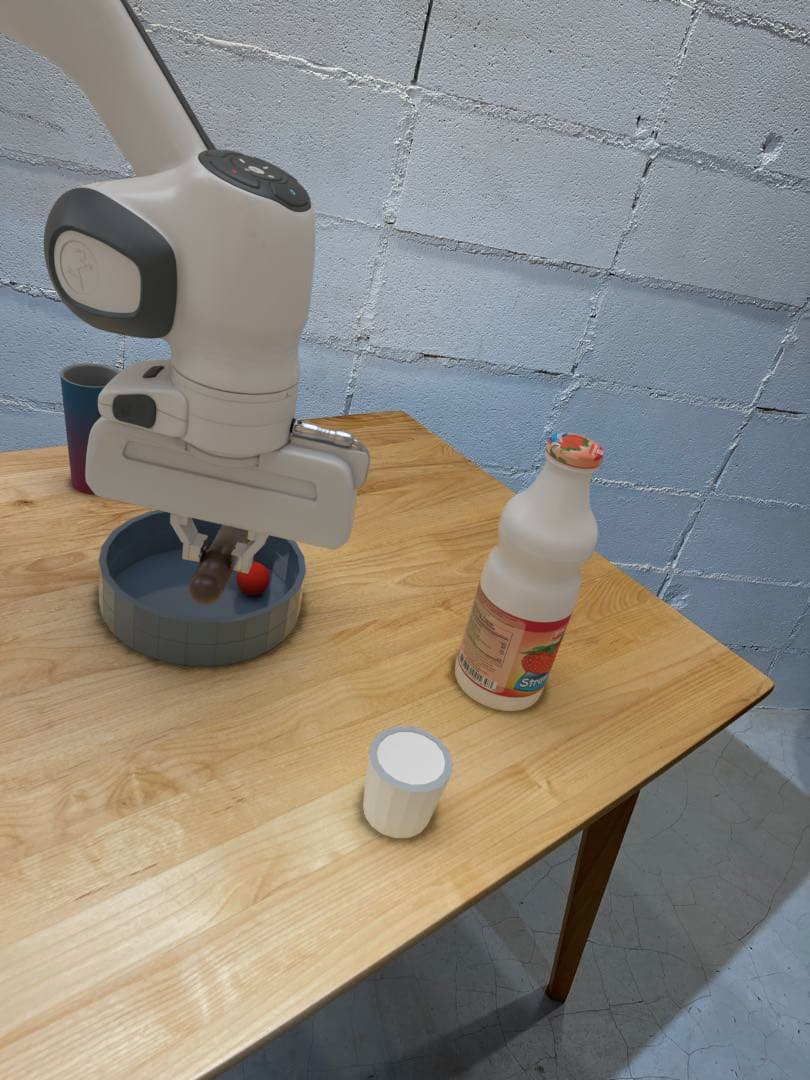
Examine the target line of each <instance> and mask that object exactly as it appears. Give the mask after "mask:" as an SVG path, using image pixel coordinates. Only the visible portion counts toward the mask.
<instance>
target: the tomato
mask: <svg viewBox="0 0 810 1080" xmlns="http://www.w3.org/2000/svg"><path fill="white" fill-rule="evenodd" d="M269 582H270V575H269V572H268V570H267V569H266V567H265V566H264V565H262V564H260V563H257V562H252V566H251V568H250V570H249V572H248V574H247V573H242V572H237V575H236V583H237V586H238V587H239V589H240V590H241V591H242V592H243V593H245V594H248V595H258V594H261V593H262V592H264V591H265V590H266V589H267V587H268V585H269Z"/></svg>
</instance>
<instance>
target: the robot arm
mask: <svg viewBox="0 0 810 1080" xmlns="http://www.w3.org/2000/svg"><path fill="white" fill-rule="evenodd" d="M0 34H2V35H4V36H6V37H7V38H9V39H12V40H14V41H16V42H18V43H20V44H21V45H23V46H25V47H27V48H29V49H31V50H32V51H34V52H36V53H37V54H39V55H40V56H42V57H44V58H45V59H47V60H48V61H49V62H51V63H52V64H54V65H55V66H57V68H59V69H60V70H61V71H62V72H64V73H65V75H67V76H68V77H69V78H70V79H71V80H72V81H73V82H74V83H75V84H76V85H77V87H79V89H80V90H81V91H82V92H83V93H84V95H85V96H86V98H87V99H88V101H89V102H90V104H91V106H92V107H93V109H94V110H95V112H96V113H97V115H98V117H99V119H100V120H101V121H102V123H103V124H104V127H106V129H107V131H108V132H109V134H110V136H111V137H112V138H113V141H114V142H115V144H116V145H117V147H118V148H119V150H120V152H121V153H122V155H123V156H124V158H125V159H126V161H127V163H128V164H129V165H130V167H131V168H132V171H133V172H134V173H135V175H136V177H131V178H130V177H129V178H120V179H111V180H104V181H96V182H92V183H91V182H90V183H87V184H83V185H81V186H79V187H75V188H71V189H69V190H67V191H65V192H64V193H62V194H61V195H60V196H59V197H58V198H57V199H56V201H55V202H54V204H53V205H52V207H51V209H50V211H49V213H48V215H47V218H46V223H45V226H44V231H43V232H44V233H43V253H44V254H43V256H44V262H45V266H46V269H47V273H48V276H49V279H50V281H51V285H52V286H53V288H54V290H55V292H56V293H57V295H58V297H59V299H60V300H61V301H62V303H63V304H64V305H65V306H66V307H67V308H68V310H69V311H71V313H73V314H74V315H75V316H76V317H78V318H79V319H80V320H81V321H83V322H84V323H86V324H87V325H88V326H90V327H92V328H94V329H97V330H99V331H103V332H107V333H111V334H115V335H120V336H126V337H132V338H140V339H160V340H163V341H165V342H166V343H167V344H168V346H169V347H170V359H154V360H142V361H141V360H140V361H136V362H134V363H132V364H130V365H129V366H126V368H124V369H123V370H120V373H119V374H117V375H116V376H115V377H114V378H113V379H112V380H111V381H110V382H109V383H108V384H107V385H106V386H105V387H104V388H103V390H102V391H101V392H100V394H99V396H98V409H99V412H100V414H101V417H100V418H99V419H98V420H97V421H96V422H95V424H94V425H93V427H92V429H91V431H90V435H89V440H88V446H87V454H86V470H85V476H86V482H87V484H88V486H89V487H90V488H91V490H92V491H93V492H94V493H95V495H94V496H97V497H99V498H102V499H107V500H111V501H117V502H119V503H120V502H121V503H124V504H125V503H126V504H129V505H135V506H139V507H143V508H147V509H152V510H160V511H164V512H169V513H171V514H170V523H171V525H172V527H173V529H174V530H175V532H176V534H177V535H178V537H179V539H180V540H181V542H182V543H183V554H182V558H183V559H185V560H189V561H193V562H198V563H201V561H202V559H203V558H204V556H205V554H206V551H207V546H206V544H207V542H208V535H204V534H200V533H198V531H197V529H196V527H195V524H194V522H193V520H192V518H195V519H200V520H204V521H208V522H213V523H217V524H222V525H226V526H230V527H235V528H239V529H244V530H248V538H247V539H248V540H250V541H249V542H248V543H247V544H244V543H239V542H237V544H236V545H235V549H233V551H232V553H231V560H230V561H231V564H230V570H234V571H238V572H242V573H247V574H248V572H249V570H250V568H251V566H252V562H253V557H254V554H255V553H256V552H257V551H258V550H259V549H260V548H261V547H262V546H263V545H264V544H265V542H266V540H267V538H268V536H269V535H270V536H275V537H279V538H283V539H288V540H292V541H295V542H296V543H300V544H301V543H302V544H306V545H310V546H315V547H319V548H324V549H327V550H331V551H333V550H334V551H335V550H338V549H340V548H342V547H343V546H344V545H346V544H347V543H348V542H349V540H350V538H351V534H352V531H353V528H354V523H355V519H356V511H357V502H358V489H359V488H361V487H362V486H363V485H364V484H365V483H366V481H367V478H368V474H369V469H370V466H371V465H370V464H371V456H370V455H371V454H370V452H369V449H368V448H367V447H366V445H365V444H364V443H363V442H361V440H358V439H356V438H355V435H354V433H352V432H350V431H347V430H343V429H333V428H329V427H326V426H322V425H319V424H316V423H313V422H309V421H304V420H301V419H297V418H295V414H296V407H297V401H298V393H299V386H300V379H301V362H300V358H299V347H300V346H299V345H300V340H301V337H302V334H303V332H304V329H305V327H306V326H307V323H308V321H309V316H310V310H311V301H312V294H313V286H314V276H315V275H314V274H315V264H316V263H315V262H316V241H317V240H316V239H317V234H316V218H315V211H314V207H313V206H314V205H313V202H312V200H311V197H310V195H309V193H308V191H307V189H306V188H305V187H304V186H303V185H301V183H300V182H299V180H297V178H295V176H293V175H292V174H290V173H289V172H287V171H285V170H284V169H282V168H281V167H279V166H277V165H275V164H273V163H271V162H269V161H267V160H264V159H262V158H259V157H256V156H252V155H249V154H248V155H247V154H244V153H242V152H239V151H234V150H229V149H217V148H216V146H215V145H214V143H213V142H212V140H211V139H210V137H209V135H208V134H207V132H206V131H205V128H204V127H203V126H202V123H201V122H200V121H199V119H198V117H197V115H196V114H195V112H194V110H193V108H192V107H191V105H190V104H189V102H188V100H187V98H186V97H185V95H184V93H183V92H182V90H181V88H180V87H179V84H178V83H177V81H176V80H175V78H174V76H173V74H172V73H171V71H170V70H169V68H168V66H167V64H166V63H165V61H164V59H163V58H162V56H161V54H160V53H159V50H158V49H157V48H156V45H155V44H154V42H153V41H152V39H151V37H150V35H149V34H148V33H147V31H146V29H145V27H144V26H143V24H142V22H141V21H140V19H139V17H138V16H137V14H136V13H135V11H134V9H133V8H132V6H131V5H130V3H129V1H128V0H0Z"/></svg>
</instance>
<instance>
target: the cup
mask: <svg viewBox="0 0 810 1080" xmlns="http://www.w3.org/2000/svg"><path fill="white" fill-rule="evenodd" d="M120 372H121V370H119V369H117V368H116V367H113V366H110V365H106V364H102V363H95V362H81V363H80V362H79V363H73V364H70V365H67V366H65V367H63V368H62V369H61V370H60V373H59V377H60V387H61V395H62V405H63V414H64V425H65V432H66V433H65V434H66V441H67V442H66V443H67V453H68V460H69V469H70V470H69V471H70V481H71V486H72V488H73V489H74V490H76V491H77V492H79V493H82V494H86V495H94V496H96V495H95V493H94V492H93V491H92V490H91V488H90V487H89V486H88V484H87V482H86V476H85V470H86V454H87V446H88V440H89V435H90V431H91V429H92V427H93V425H94V424H95V422H96V421H97V420H98V419H99V418H100V417H101V414H100V412H99V409H98V396H99V394H100V392H101V391H102V390H103V388H104V387H105V386H106V385H107V384H108V383H109V382H110V381H111V380H112V379H113V378H114V377H115V376H116V375H117V374H119V373H120Z"/></svg>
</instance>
